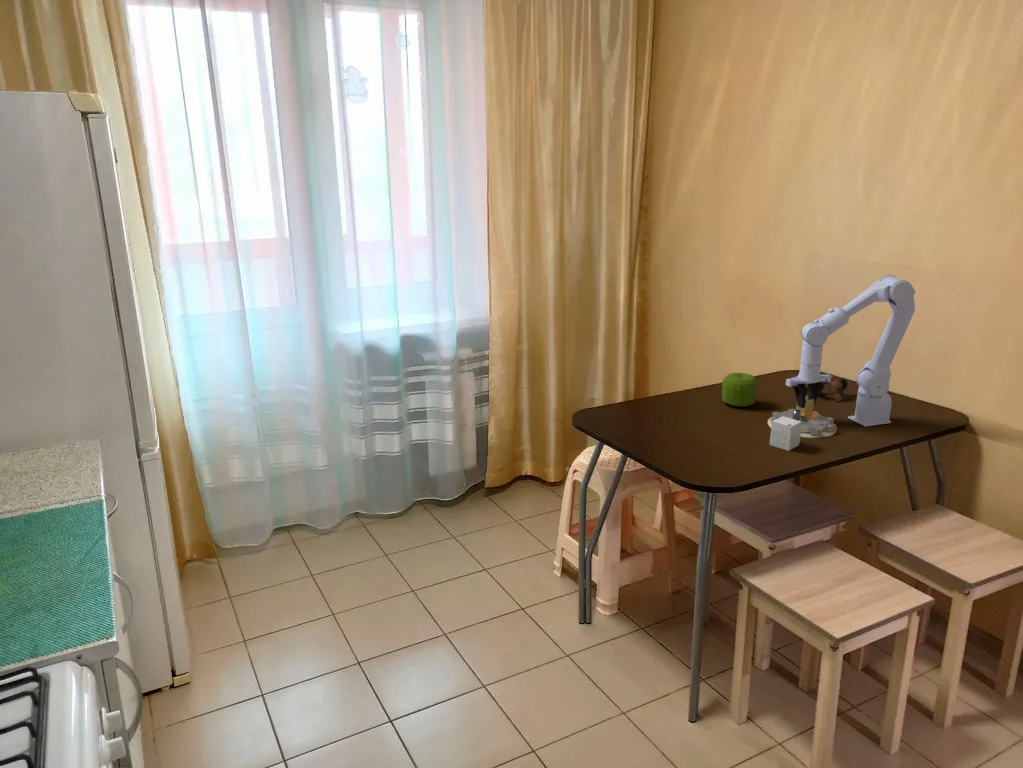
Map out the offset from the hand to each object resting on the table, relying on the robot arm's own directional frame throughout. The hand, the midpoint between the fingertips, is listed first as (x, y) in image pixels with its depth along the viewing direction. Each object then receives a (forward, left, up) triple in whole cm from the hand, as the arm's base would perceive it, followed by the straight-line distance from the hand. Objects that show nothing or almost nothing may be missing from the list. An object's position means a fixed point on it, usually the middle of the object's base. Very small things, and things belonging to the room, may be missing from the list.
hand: (805, 406), depth 227 cm
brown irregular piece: (-23, -16, -5) cm, 28 cm away
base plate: (+3, +3, -5) cm, 7 cm away
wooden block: (0, 0, -2) cm, 2 cm away
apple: (+10, -20, -5) cm, 23 cm away
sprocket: (+3, +3, -5) cm, 7 cm away
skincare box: (+17, +14, -5) cm, 23 cm away
